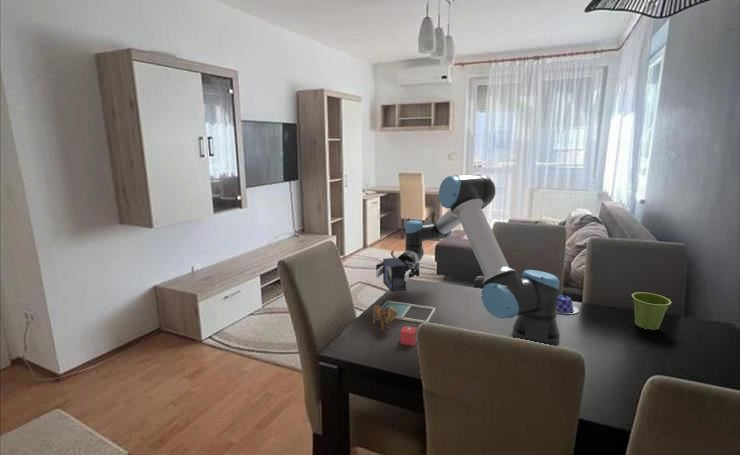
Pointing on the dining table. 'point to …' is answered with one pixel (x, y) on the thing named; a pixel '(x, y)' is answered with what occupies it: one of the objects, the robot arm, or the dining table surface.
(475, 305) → the dining table surface
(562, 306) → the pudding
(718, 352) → the dining table surface
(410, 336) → the red block
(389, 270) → the small box
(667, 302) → the plant pot
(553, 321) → the robot arm
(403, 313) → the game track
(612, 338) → the dining table surface
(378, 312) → the lion figurine
